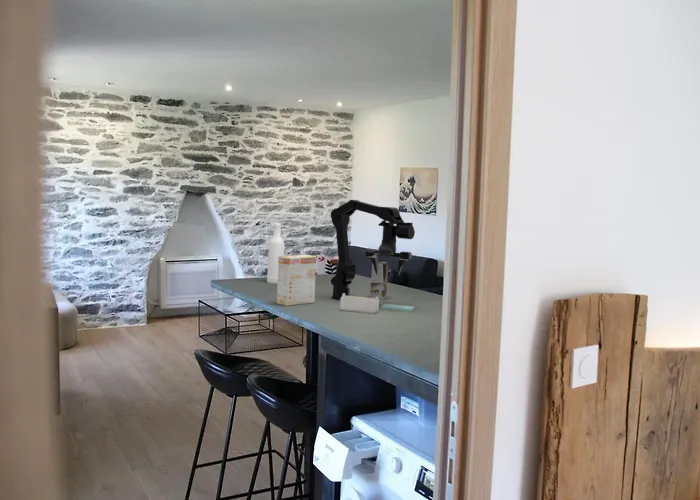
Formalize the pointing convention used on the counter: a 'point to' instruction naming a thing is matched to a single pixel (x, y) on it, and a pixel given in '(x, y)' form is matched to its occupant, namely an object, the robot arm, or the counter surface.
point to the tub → (359, 304)
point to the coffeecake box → (296, 279)
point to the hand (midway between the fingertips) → (387, 274)
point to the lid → (397, 307)
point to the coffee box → (379, 281)
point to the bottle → (274, 254)
